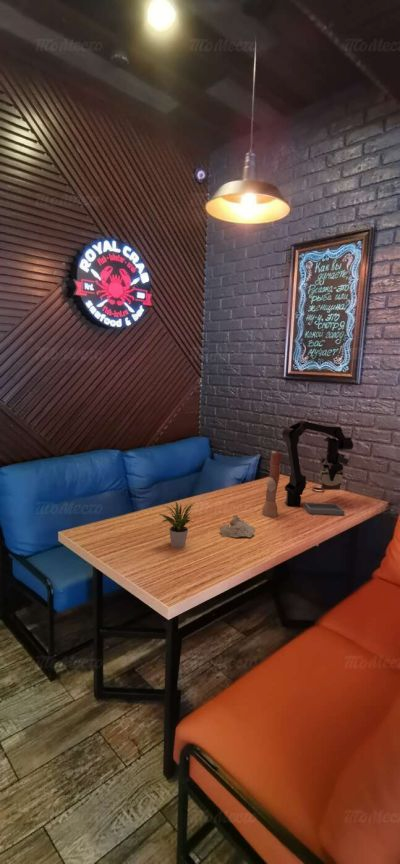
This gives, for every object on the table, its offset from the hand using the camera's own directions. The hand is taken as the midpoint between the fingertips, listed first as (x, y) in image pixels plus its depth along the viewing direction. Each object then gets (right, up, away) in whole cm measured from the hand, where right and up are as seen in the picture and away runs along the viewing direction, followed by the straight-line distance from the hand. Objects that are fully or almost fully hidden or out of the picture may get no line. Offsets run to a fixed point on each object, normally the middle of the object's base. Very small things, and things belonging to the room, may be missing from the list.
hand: (329, 479), depth 221 cm
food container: (0, -4, +2) cm, 5 cm away
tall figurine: (-34, -14, -21) cm, 42 cm away
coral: (-52, -17, -46) cm, 71 cm away
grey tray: (-7, -14, -13) cm, 21 cm away
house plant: (-75, -17, -61) cm, 98 cm away
